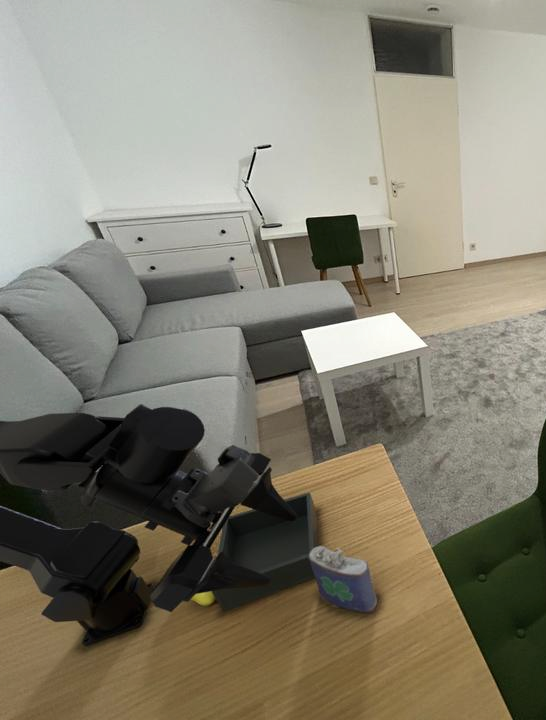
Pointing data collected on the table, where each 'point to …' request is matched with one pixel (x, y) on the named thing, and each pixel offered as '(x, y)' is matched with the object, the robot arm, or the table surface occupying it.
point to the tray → (269, 549)
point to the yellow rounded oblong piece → (204, 598)
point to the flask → (343, 580)
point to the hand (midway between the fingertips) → (282, 548)
